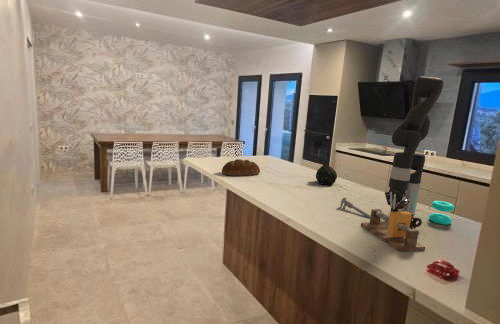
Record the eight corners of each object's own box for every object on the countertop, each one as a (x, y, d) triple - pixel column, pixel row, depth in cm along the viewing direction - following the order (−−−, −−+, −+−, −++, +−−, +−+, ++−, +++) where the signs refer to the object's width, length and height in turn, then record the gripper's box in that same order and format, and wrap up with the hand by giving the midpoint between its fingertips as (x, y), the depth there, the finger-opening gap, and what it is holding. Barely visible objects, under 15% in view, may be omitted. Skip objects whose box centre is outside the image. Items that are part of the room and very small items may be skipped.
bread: (219, 172, 236) (219, 157, 234) (254, 171, 248) (255, 157, 246) (225, 177, 222) (226, 161, 220) (263, 176, 234) (264, 161, 232)
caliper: (340, 207, 174) (341, 196, 173) (341, 207, 174) (342, 196, 173) (372, 220, 157) (374, 208, 156) (373, 219, 158) (375, 207, 157)
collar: (386, 234, 133) (390, 211, 131) (402, 233, 135) (406, 211, 133) (391, 237, 130) (395, 214, 128) (407, 236, 132) (411, 213, 130)
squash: (338, 175, 230) (326, 158, 228) (342, 180, 215) (329, 163, 213) (322, 186, 233) (310, 170, 231) (325, 192, 218) (312, 175, 216)
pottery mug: (392, 228, 148) (392, 211, 151) (397, 232, 155) (397, 216, 158) (421, 229, 141) (420, 211, 144) (424, 233, 148) (424, 216, 151)
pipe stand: (361, 225, 148) (363, 208, 146) (383, 224, 151) (385, 208, 149) (399, 251, 123) (402, 231, 122) (424, 250, 126) (428, 230, 125)
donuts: (459, 207, 154) (437, 205, 155) (455, 226, 156) (433, 224, 157) (448, 201, 164) (428, 199, 165) (445, 219, 166) (425, 217, 167)
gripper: (419, 181, 127) (411, 222, 130) (396, 174, 139) (390, 211, 142) (403, 181, 125) (396, 222, 128) (381, 173, 137) (376, 211, 141)
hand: (393, 216), depth 135 cm, fingers closed
